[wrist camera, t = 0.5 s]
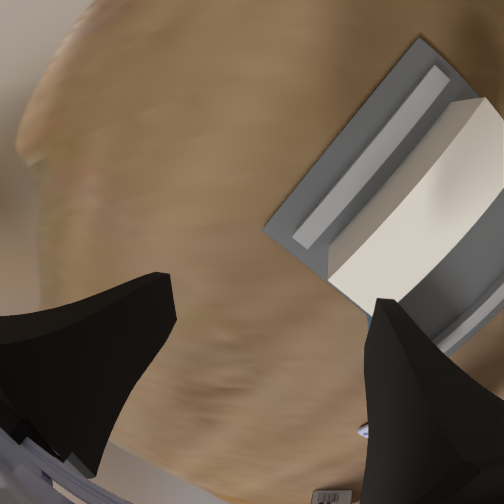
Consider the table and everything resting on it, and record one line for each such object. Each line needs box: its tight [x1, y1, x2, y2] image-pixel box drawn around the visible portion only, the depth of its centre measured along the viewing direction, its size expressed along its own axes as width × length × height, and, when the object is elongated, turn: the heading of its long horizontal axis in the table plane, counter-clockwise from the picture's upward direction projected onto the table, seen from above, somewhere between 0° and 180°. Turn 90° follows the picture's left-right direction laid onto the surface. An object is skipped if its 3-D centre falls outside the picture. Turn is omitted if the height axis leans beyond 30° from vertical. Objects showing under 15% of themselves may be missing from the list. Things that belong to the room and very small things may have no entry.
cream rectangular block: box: [328, 97, 504, 316], centre depth 13 cm, size 4×12×4 cm, turn 145°
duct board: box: [262, 37, 504, 357], centre depth 14 cm, size 18×16×4 cm
